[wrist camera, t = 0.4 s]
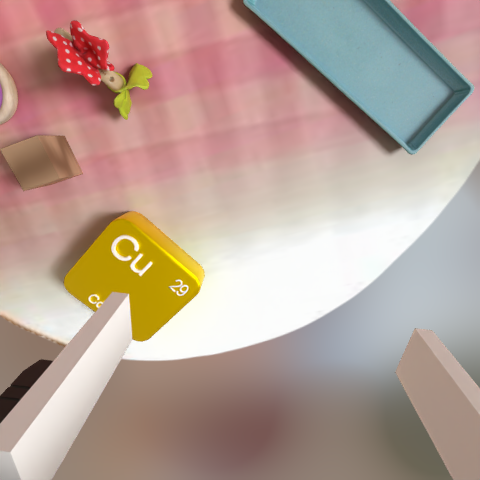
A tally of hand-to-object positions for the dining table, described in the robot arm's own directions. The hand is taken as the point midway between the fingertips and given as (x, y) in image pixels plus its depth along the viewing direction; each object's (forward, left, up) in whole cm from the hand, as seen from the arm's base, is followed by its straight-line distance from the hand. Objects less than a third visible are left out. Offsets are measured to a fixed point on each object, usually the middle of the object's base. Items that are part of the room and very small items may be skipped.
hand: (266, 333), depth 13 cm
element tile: (+11, -17, -27) cm, 34 cm away
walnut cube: (-5, -27, -27) cm, 38 cm away
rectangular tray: (-19, +10, -27) cm, 35 cm away
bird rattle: (-15, -18, -27) cm, 35 cm away
